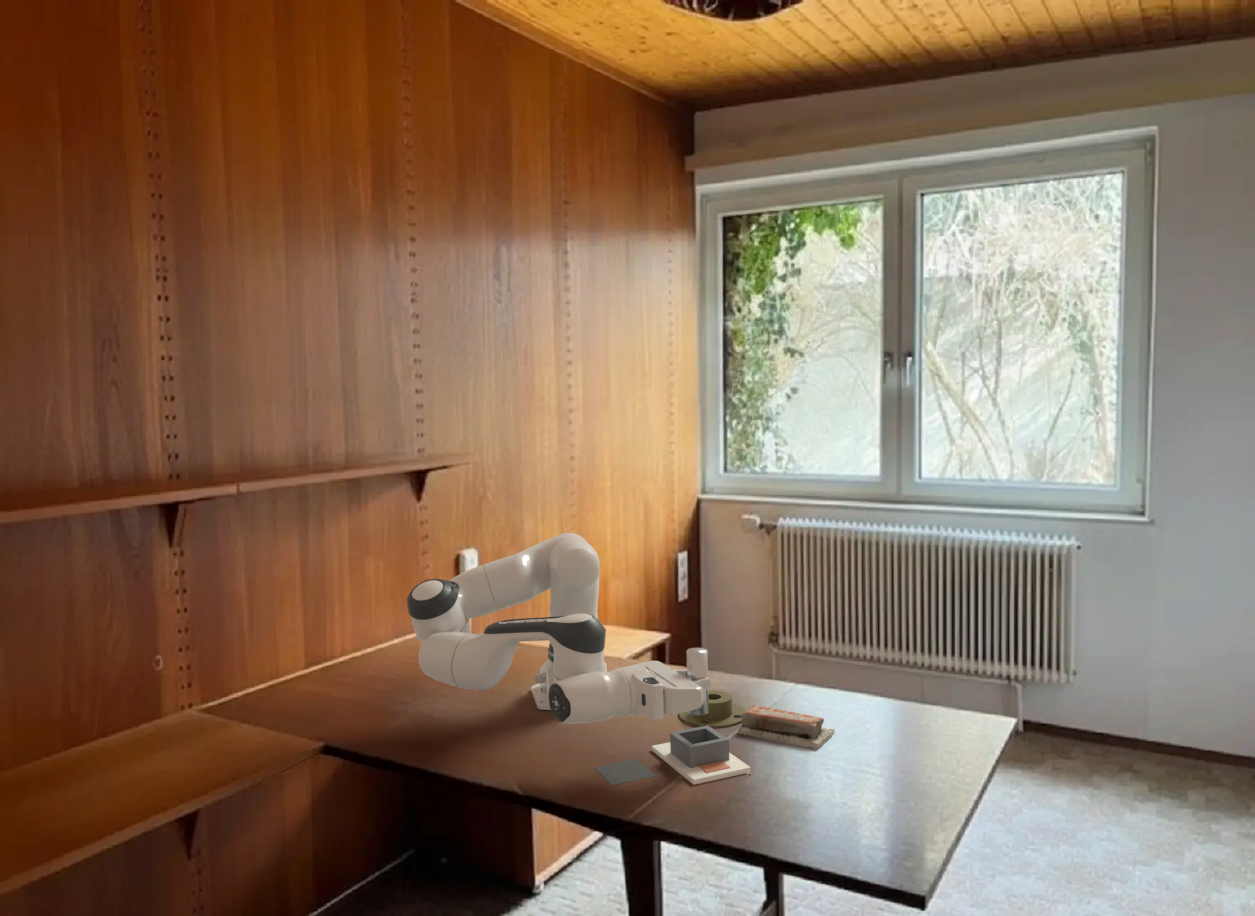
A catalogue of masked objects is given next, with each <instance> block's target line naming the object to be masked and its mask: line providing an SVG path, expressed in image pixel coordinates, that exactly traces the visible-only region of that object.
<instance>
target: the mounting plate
mask: <svg viewBox="0 0 1255 916" xmlns="http://www.w3.org/2000/svg"><path fill="white" fill-rule="evenodd" d="M669 739H670V740H669V742H663V743H660V744H653V745H651V751H652V752H653V753H654V754H656V755H657V756H658V757H659V758H661V759H662V760H663V761H664V762H665V763H667V764H668V765H669V766H670V767H671V768H673V769H674V770H675V771H676V772H677V773H679V774H680V775H681V776H683V777H684V779H686V780H687V781H688V782H690V784H691V785H699V784H703V783H708V782H711V781H718V780H721V779H726V778H731V777H734V776H740V775H744V774H746V775H748V776H750V775H749V774H752V772H751V770H752V769H751V768H752V767H751V766H749V765H748V764H747V763H745V762H743V761H742V760H741V759H739V758H738V757H736V756H735V755H733V754H732V753H731V752H730V739H729V738H727V736H724V735H723V734H722V733H720V732H718V731H717V730H715V728H711V727H710V726H708V725H707V726H702V727H697V726H696V727H693V728H687V729H683V730H678V731H672V732H670V733H669Z"/></svg>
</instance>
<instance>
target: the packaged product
mask: <svg viewBox="0 0 1255 916" xmlns="http://www.w3.org/2000/svg"><path fill="white" fill-rule="evenodd" d="M745 710H746V711H745V712H743V713H742V723H741V726H740V727H738V728H737V734H738V733H739V734H738V735H741V734H744V735H743V736H746V735H749V736H748V737H752V736H753V737H752V738H756V737H760V738H759V739H761V738H763V739H762V740H766V741H771V742H776V743H781V742H783V743H782V744H786V743H787V744H786V745H791V744H792V745H791V746H796V745H797V747H802V746H806V747H805V748H807V747H811V748H810V749H813V748H816V749H815V750H819V749H820V748H821V747H823V745H824V744H825V743H826V742H828V741H829V740H830V739H831V738H832V737H833V736H832V735H834V734H835V732H836V731H835V729H833V728H832V729H831V728H827V727H823V724H824V722H825V719H824V718H822V717H819V716H814V715H809V714H805V713H799V712H795V711H789V710H783V709H778V708H773V707H767V706H763V705H762V706H761V705H753V704H752V706H750V707H749V708H747V709H745ZM830 737H831V738H830ZM829 738H830V739H829ZM828 739H829V740H828ZM824 742H825V743H824ZM820 746H821V747H820ZM819 747H820V748H819ZM818 748H819V749H818Z"/></svg>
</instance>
